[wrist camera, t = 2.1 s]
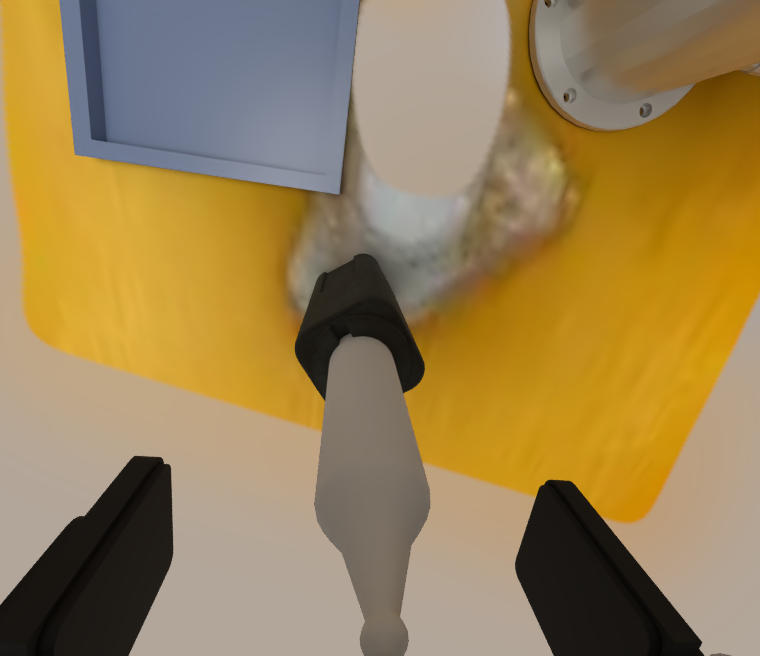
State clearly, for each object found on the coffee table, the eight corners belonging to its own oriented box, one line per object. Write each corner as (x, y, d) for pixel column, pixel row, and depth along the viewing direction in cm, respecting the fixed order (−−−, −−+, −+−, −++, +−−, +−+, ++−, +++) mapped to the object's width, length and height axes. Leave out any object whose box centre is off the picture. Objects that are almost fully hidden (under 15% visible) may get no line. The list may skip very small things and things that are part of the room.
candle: (369, 247, 29) (466, 495, 5) (399, 305, 31) (574, 687, 7) (309, 279, 29) (158, 638, 6) (343, 335, 31) (329, 787, 7)
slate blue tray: (370, -96, 22) (372, -126, 20) (339, 194, 27) (339, 194, 25) (69, -169, 20) (38, -210, 18) (97, 157, 25) (75, 154, 23)
